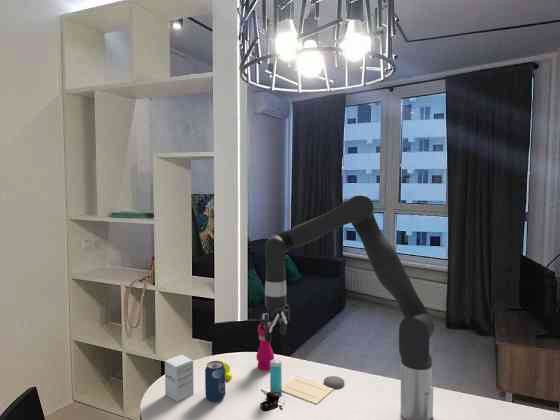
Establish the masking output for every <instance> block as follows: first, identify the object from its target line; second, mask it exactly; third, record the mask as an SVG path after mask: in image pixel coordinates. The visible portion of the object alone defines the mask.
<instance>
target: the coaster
mask: <svg viewBox="0 0 560 420" xmlns="http://www.w3.org/2000/svg"><path fill="white" fill-rule="evenodd" d="M323 385H325V386H328V387H331V388H334V389H340V388H342V387H344V386H345V379H343V378H342V377H340V376H335V375H331V376H327V377H325V378H324V379H323Z"/></svg>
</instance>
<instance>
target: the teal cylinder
mask: <svg viewBox="0 0 560 420" xmlns="http://www.w3.org/2000/svg"><path fill="white" fill-rule="evenodd" d="M282 370H283V369H282V360H281V359H277V358H274V359H273V360H271V361H270V370H269V378H270V379H269V380H270V382H269V383H270V384H269V385H270V386H269V387H270V389H269V390H270V391H269V392H270V393H274V394H278V395H279V396H280V397H281V396H282V394H283V391H282V387H283V386H282V379H283V378H282V377H283V375H282V372H283V371H282ZM270 393H269V394H270Z"/></svg>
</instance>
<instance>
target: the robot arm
mask: <svg viewBox="0 0 560 420" xmlns="http://www.w3.org/2000/svg"><path fill="white" fill-rule="evenodd" d="M374 208H375V207H374V202H373V201H372V200H371V198H370V197H369V196H367V195H364V194H356V195H353V196H351V197H350V198H349V199H347V200H346V201H345V202H343V203H341V204H340V205H338V206H336V207H335V208H333V209H331V210H329V211H328V212H326V213H324V214H321V215H319V216H316V217H314V218H312V219H309V220H307V221H305V222H303V223H300V224H298V225H296V226H294V227H292V228H290V229H288V230H285V231H282V232H279V233H277V234H274V235H272V236H270V237H269V238H268V239H267V241H266V242H265V245H264V258H265V260H264V261H265V282H264V283H265V284H264V306H265V308H266V313H264V312H261V313H260V323H259V325H260V330H261V331H264V332H265V341H266V342H268V343H270V344H271V343H272V333H271V330H272V331H273V327H274V326H275V325H276V324H277V323H278V322H279V334H280V335H283V336H284V335H286V334H287V324H288V322H290V321H291V307H290V305H289V304H287V279H286V278H287V276H286V274H287V271H286V265H285V264H286V261H285V260H286V252H287V251H289V250H291V249H294V248H299V247H302V246H304V245H307V244H309V243H311V242H315V241H316V240H318V239H320V238H321V237H324V236H325V235H327V234H328V233H330V232H332V231H334V230H336V229H338V228H340V227H343V226H345V225H348V224H351V225H352V227H353V228H354V230H355V231H356V233H357V235H358V236H359V238H360V240H361V242H362V245H363V248H364V250H365V253H366V256H367V258H368V261H369V263H370V265H371V268H372V270H373V272H374V275H376V278H377V279H378V282H379V283H380V284H381V286H383V288H384V289H385V290H386V291H387V292H388V293H389V294H390V295H391V296H392V297H393V299H394V300H395V301H396V302H397V305H398V306H399V309H400V311H401V313H402V316H403V319H402V320H401V321H400V323H399V328H398V349H399V350H398V353H399V356H400V408H399V409H400V415H401V417H402V418H403V419H404V420H432V418H433V417H434V414H433V413H434V387H433V386H432V375H433V374H432V373H433V372H432V370H433V369H432V368H433V367H432V365H433V359H432V355H431V354H430V339H431V338H432V336H433V335H434V333H435V330H436V327H435V322H434V320H433V318H432V316H431V314H430V313H429V311H428V310H427V308H426V307H425V305H424V303H423V302H422V300H421V299H420V297H419V296H418V293H417V291H416V289H415V288H414V286H413V284H412V281H411V279H410V277H409V276H408V274H407V271H406V269H405V267H404V264H403V262H402V261H401V259H400V257H399V255H398V254H397V252H396V250H395V249H394V247H393V245H392V244H391V243H390V241H388V239H387V238H386V237H385V235H384V234H383V232H382V231H381V229H380V226H379V225H378V222H377V220H376V217H375V214H374ZM264 325H265V327H264ZM268 325H270V326H269V328H268Z"/></svg>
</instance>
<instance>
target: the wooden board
mask: <svg viewBox="0 0 560 420" xmlns="http://www.w3.org/2000/svg"><path fill="white" fill-rule="evenodd" d="M334 390H335V388H331V387H328V386H326V385H325V384H321V383H319V382H316V381H312V380H309V379H307V378H304V377H301V376H299V375H296V376H295V377H293V379H291V380H289V381H288V382H286V384H283V386H282V393H286V394H288V395H291V396H293V397H295V398H298V399H301V400H304V401H306V402H309V403H312V404H314V405H319V403H321V401H322V400H324V399H325V398H326V397H328V395H329V394H330V393H331V392H332V391H334Z"/></svg>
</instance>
